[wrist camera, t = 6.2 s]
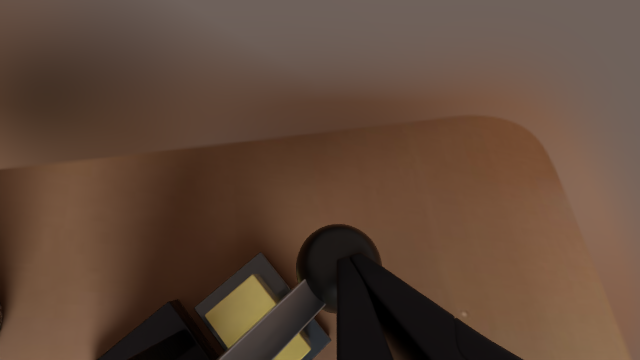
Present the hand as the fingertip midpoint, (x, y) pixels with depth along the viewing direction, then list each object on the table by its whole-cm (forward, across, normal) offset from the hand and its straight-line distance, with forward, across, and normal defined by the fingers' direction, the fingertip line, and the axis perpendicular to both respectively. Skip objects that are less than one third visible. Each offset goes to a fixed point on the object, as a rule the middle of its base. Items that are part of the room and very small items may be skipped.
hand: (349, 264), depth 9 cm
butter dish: (+4, +4, +7) cm, 9 cm away
